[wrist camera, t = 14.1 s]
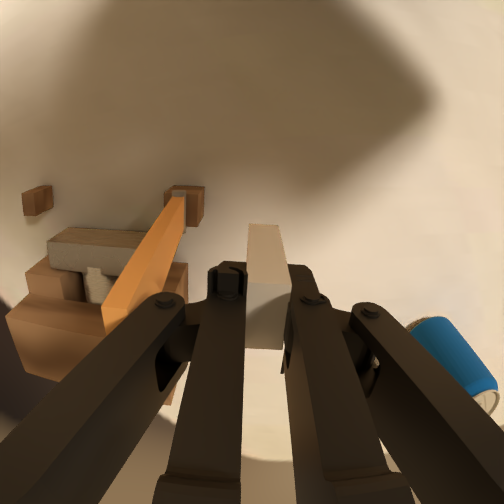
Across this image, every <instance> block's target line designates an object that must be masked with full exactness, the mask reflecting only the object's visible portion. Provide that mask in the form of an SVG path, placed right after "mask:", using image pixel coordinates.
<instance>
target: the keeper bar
mask: <svg viewBox="0 0 504 504" xmlns="http://www.w3.org/2000/svg"><path fill="white" fill-rule="evenodd" d="M185 233H186V191H185V190H173V191H172V198H171V199H170V201H169V202H168V203H167V205H166V206H165V208H164V209H163V211H162V212H161V214H160V215H159V216H158V218H157V219H156V221H155V222H154V224H153V225H152V227H151V228H150V230H149V231H148V233H147V234H146V236H145V237H144V239H143V240H142V242H141V243H140V245H139V246H138V248H137V249H136V251H135V252H134V254H133V255H132V257H131V259H130V260H129V262H128V263H127V265H126V266H125V268H124V270H123V271H122V273H121V274H120V276H119V278H118V279H117V281H116V282H115V284H114V286H113V287H112V289H111V291H110V292H109V294H108V296H107V297H106V299H105V301H104V302H103V304H102V306H101V310H102V316H103V321H104V327H105V332H106V336H107V335H108V334H109V333H110V332H111V331H113V330H114V329H115V328H116V327H117V326H118V325H119V324H120V323H121V322H122V321H123V320H124V319H125V318H126V317H127V316H128V315H129V314H131V313H132V312H133V311H134V310H135V309H136V308H137V307H138V306H139V305H140V304H141V303H142V302H143V301H144V300H146V299H147V298H148V297H149V296H151V295H153V294H156V293H159V292H162V289H163V287H164V284H165V281H166V278H167V275H168V272H169V269H170V266H171V263H172V261H173V258H174V255H175V252H176V249H177V247H178V244H179V241H180V238H181V236H182V234H185Z"/></svg>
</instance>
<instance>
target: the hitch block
mask: <svg viewBox="0 0 504 504" xmlns="http://www.w3.org/2000/svg"><path fill="white" fill-rule="evenodd" d="M173 190H185V191H186V226H188V227H198V225H199V223H200V221H201V219H202V217H203V212H204V187H198V186H177V185H174V186H172V187H171V188H170V189H168V190H167V191H166V192H165V193H164V208H165V206H166V205H167V203H168V202H169V201H170V199H171V198H172V191H173ZM22 204H23V213H24V216H37V215H39V214H41V213H43V212H44V211H46V210H48V209H50V208H52V207H53V194H52V186H39V187H36V188H34V189H31V190H29V191H26V192H24V193H22ZM25 275H26V280H27V285H28V289H29V294H28V295H27V296H26V297H25V298H24V299H23V300H22V301H21V302H20V303H19V304H17V305H16V306H15V307H14V308H13V309H12V310H11V311H10V312H9V313H8V314H7V315H6V316H5V317H6V320H7V323H8V327H9V329H10V332H11V335H12V338H13V341H14V344H15V346H16V349H17V352H18V354H19V357H20V359H21V362H22V364H23V367H24V369H25V372H27V373H30V374H33V375H37V376H40V377H43V378H46V379H50V380H53V381H57V382H60V381H61V380H62V379H63V378H64V377H65V376H66V375H67V374H68V373H69V372H70V371H71V370H72V369H73V368H74V367H75V366H76V365H77V364H78V363H79V362H80V361H81V360H82V359H83V358H84V357H86V356H87V355H88V354H89V353H90V352H91V351H92V350H93V349H94V348H95V347H96V346H97V345H98V344H99V343H100V342H101V341H102V340H103V339H104V338H105V337H106V332H105V327H104V321H103V316H102V310H101V306H102V305H97V304H91V303H87V299H86V293H85V287H84V281H83V274H82V272H77V271H69V270H60V269H52V268H51V267H50V261H49V255H47V256H46V257H45V258H43V259H42V260H41V261H39V262H38V263H37V264H36V265H34V266H33V267H32V268H30V269H29V270H28V271H27V272H25ZM162 292H171V293H176V294H179V295H180V296H182V297H183V298H184V301H185V304H188V263H177V262H172V263H171V266H170V269H169V272H168V275H167V278H166V281H165V284H164V287H163V289H162ZM176 384H177V383H176ZM175 388H176V385H175V386H174V388H173V390H172V391H171V393H170V394H169V396H168V397H167V399H166V400H165V402H164V404H163V405H170V406H171V403H172V399H173V396H174V392H175Z"/></svg>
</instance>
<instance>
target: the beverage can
mask: <svg viewBox="0 0 504 504" xmlns="http://www.w3.org/2000/svg"><path fill="white" fill-rule="evenodd" d="M409 333H410V334H411V335H412V336H413V337H414V338H415V339H416V340H417V341H418V342H419V343H420V344H421V345H422V346H423V347H424V348H425V349H426V350H427V351H428V352H429V353H430V354H431V355H432V356H433V357H434V358H435V359H436V360H437V361H438V362H439V363H440V364H441V365H442V366H443V367H444V368H445V369H446V370H447V371H448V372H449V373H450V374H451V375H452V376H453V377H454V379H455V380H456V381H457V382H458V383H459V384H460V385H461V386H462V387H463V388H464V389H465V390H466V391H467V392H468V393H469V394H470V395H471V396H472V398H473V399H474V400H475V401H476V402H477V403H478V404H479V405H480V406H481V407H482V408H483V409H484V411H485V412H486V413H487V414H488V415H489V416H490V415H491V414H492V413H493V411H494V410H495V408H496V407H497V405H498V403H499V400H500V395H499V393H498V385H497V381H496V380H495V378H494V377H493V376H492V374H491V373H490V372H489V370H488V369H487V368H486V366H485V365H484V364H483V362H482V361H481V360H480V358H479V357H478V356H477V354H476V353H475V352H474V351H473V349H472V348H471V347H470V345H469V344H468V343H467V342H466V340H465V339H464V338H463V337H462V335H461V334H460V333H459V332H458V330H457V329H456V328H455V327H454V326H453V324H452V323H451V322H450V321H449V320H448V319H447V318H445V317H441V316H435V317H431V318H428V319H426V320H424V321H422V322H420V323H419V324H418V325H416V326H415V327H414V328H413V329H412V330H411V331H410V332H409Z"/></svg>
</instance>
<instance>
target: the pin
mask: <svg viewBox="0 0 504 504" xmlns="http://www.w3.org/2000/svg"><path fill="white" fill-rule="evenodd" d="M147 233H148V232H137V231H122V230H106V229H89V228H73V227H68V228H66V229H65V230H63V231H62V232H60V233H59V234H57V235H56V236H54V237H53V238H51V239H50V240H48V241H47V249H48V255H49V261H50V267H51V268H52V269H60V270H69V271H77V272H82V274H83V281H84V287H85V293H86V299H87V303H91V304H97V305H102V304H103V302H104V301H105V299H106V297H107V296H108V294H109V292H110V291H111V289H112V287H113V286H114V284H115V282H116V281H117V279H118V278H119V276H120V274H121V273H122V271H123V270H124V268H125V266H126V265H127V263H128V262H129V260H130V259H131V257H132V255H133V254H134V252H135V251H136V249H137V248H138V246H139V245H140V243H141V242H142V240H143V239H144V237H145V236H146V234H147Z"/></svg>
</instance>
